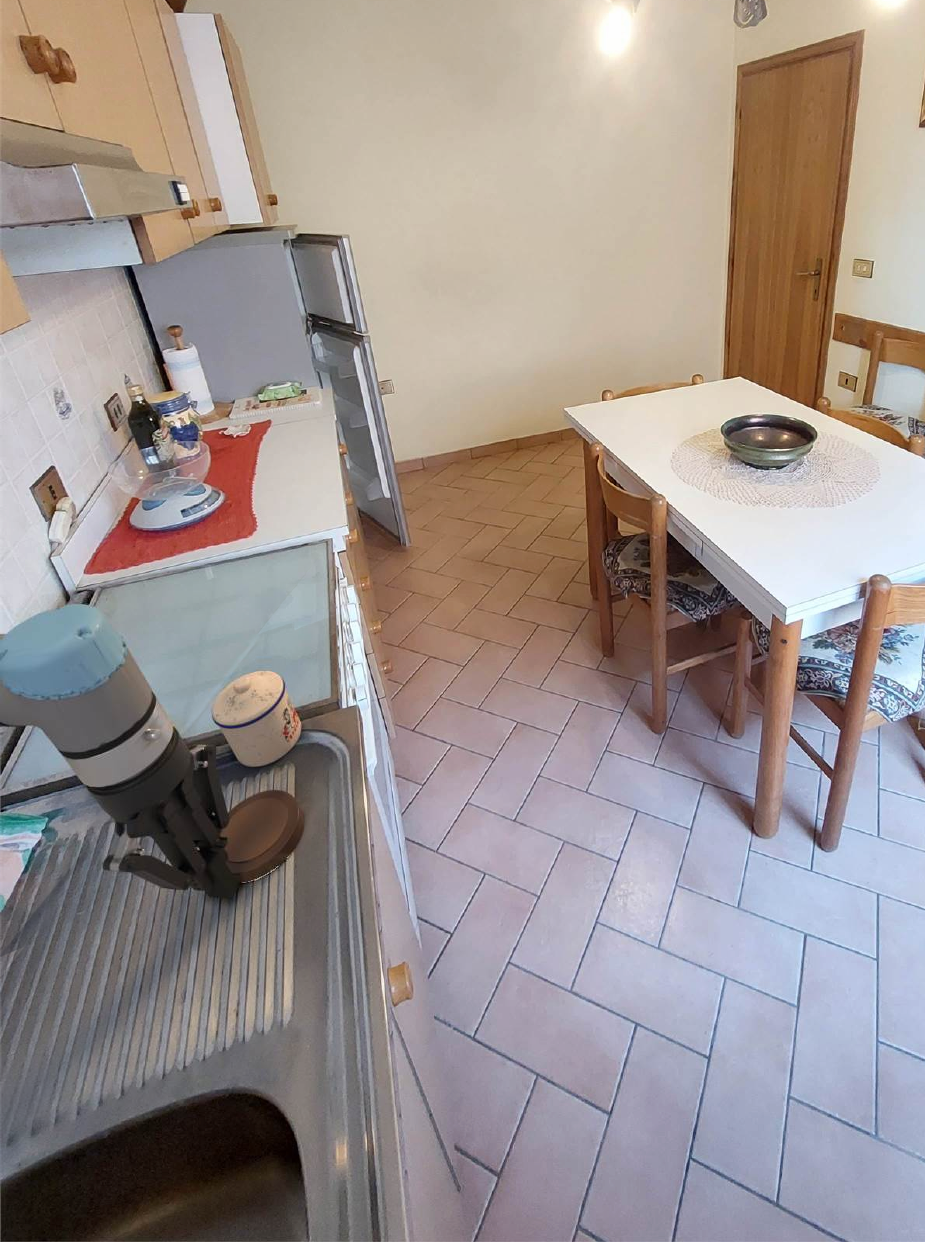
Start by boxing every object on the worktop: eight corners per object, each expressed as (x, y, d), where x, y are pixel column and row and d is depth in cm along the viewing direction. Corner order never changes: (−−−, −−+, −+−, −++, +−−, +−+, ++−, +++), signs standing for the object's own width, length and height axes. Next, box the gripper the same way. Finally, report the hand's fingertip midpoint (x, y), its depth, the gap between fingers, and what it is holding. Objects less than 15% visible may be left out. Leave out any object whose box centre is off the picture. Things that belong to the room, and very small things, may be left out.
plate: (196, 882, 71) (188, 871, 70) (245, 799, 79) (238, 788, 78) (278, 886, 70) (271, 874, 68) (318, 801, 78) (312, 789, 77)
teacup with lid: (307, 749, 85) (279, 691, 80) (235, 781, 82) (201, 722, 76) (298, 690, 95) (273, 634, 89) (234, 717, 91) (203, 660, 86)
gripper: (111, 826, 51) (217, 964, 62) (212, 697, 62) (286, 834, 73) (33, 819, 52) (152, 956, 63) (146, 694, 63) (229, 829, 75)
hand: (224, 890), depth 68 cm, fingers closed
